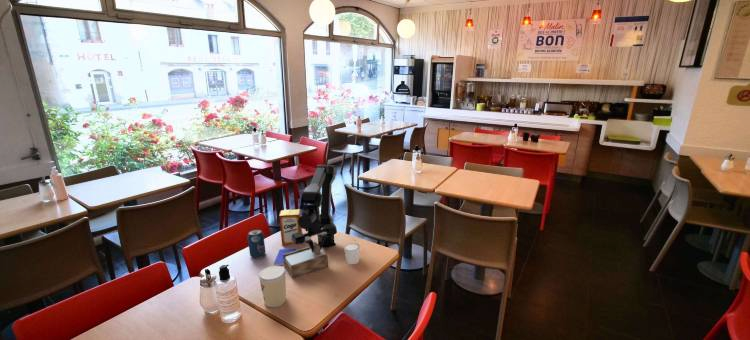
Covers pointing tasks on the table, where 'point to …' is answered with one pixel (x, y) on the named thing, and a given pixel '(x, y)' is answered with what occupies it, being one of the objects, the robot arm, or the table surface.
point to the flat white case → (304, 255)
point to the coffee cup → (273, 285)
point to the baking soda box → (289, 225)
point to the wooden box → (305, 264)
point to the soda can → (256, 243)
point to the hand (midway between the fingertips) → (316, 251)
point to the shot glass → (352, 253)
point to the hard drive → (280, 256)
